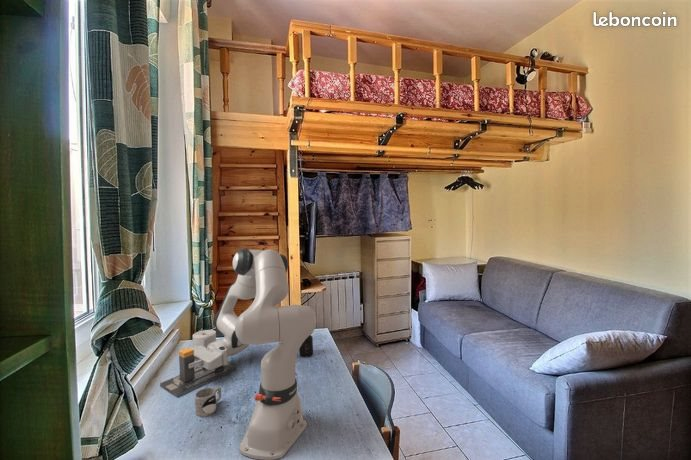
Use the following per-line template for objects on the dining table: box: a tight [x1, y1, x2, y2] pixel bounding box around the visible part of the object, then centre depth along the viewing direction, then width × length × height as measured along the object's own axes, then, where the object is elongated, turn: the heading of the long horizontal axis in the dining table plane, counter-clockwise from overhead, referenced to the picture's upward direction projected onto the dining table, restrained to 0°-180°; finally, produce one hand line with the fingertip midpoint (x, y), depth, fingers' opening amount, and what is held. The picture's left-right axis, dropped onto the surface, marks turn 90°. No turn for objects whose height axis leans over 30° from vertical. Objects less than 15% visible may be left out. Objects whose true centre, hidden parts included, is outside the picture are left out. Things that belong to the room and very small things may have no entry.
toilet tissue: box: [192, 329, 217, 348], centre depth 156 cm, size 11×12×10 cm
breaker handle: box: [178, 347, 195, 382], centre depth 128 cm, size 4×4×12 cm
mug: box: [194, 386, 222, 418], centre depth 112 cm, size 10×7×7 cm
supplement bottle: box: [298, 334, 314, 358], centre depth 153 cm, size 7×7×12 cm
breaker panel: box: [159, 361, 237, 398], centre depth 133 cm, size 26×14×3 cm, turn 145°
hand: (184, 364), depth 127 cm, fingers closed on breaker handle, 4 cm apart
